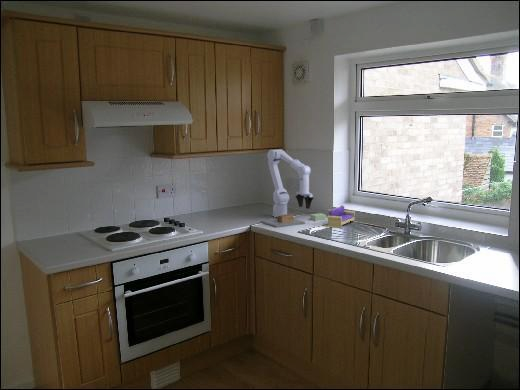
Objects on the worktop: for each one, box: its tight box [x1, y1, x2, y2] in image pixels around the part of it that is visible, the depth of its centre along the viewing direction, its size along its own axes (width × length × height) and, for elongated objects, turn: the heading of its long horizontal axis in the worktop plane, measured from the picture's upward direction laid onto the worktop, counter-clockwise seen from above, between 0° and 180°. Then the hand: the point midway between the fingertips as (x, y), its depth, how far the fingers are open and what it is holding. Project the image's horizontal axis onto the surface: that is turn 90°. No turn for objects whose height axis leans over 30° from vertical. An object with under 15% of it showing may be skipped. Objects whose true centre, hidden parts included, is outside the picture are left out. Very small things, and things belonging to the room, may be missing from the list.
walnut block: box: [276, 213, 294, 223], centre depth 274 cm, size 6×8×4 cm
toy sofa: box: [326, 205, 356, 229], centre depth 269 cm, size 21×9×10 cm, turn 145°
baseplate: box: [260, 218, 305, 228], centre depth 275 cm, size 18×20×1 cm
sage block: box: [309, 212, 327, 222], centre depth 285 cm, size 6×8×4 cm
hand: (304, 207), depth 279 cm, fingers open, 7 cm apart
